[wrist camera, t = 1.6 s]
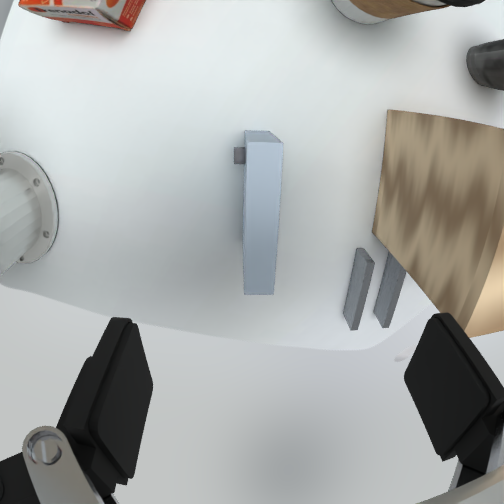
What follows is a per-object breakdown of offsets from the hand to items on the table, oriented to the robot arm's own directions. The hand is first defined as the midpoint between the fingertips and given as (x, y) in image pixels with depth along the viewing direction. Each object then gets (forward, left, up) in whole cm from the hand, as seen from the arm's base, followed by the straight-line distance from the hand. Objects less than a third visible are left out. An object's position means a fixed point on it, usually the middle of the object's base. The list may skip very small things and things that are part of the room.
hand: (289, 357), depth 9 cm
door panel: (0, 0, -20) cm, 20 cm away
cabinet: (+18, -8, -20) cm, 28 cm away
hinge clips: (+6, -15, -20) cm, 25 cm away
